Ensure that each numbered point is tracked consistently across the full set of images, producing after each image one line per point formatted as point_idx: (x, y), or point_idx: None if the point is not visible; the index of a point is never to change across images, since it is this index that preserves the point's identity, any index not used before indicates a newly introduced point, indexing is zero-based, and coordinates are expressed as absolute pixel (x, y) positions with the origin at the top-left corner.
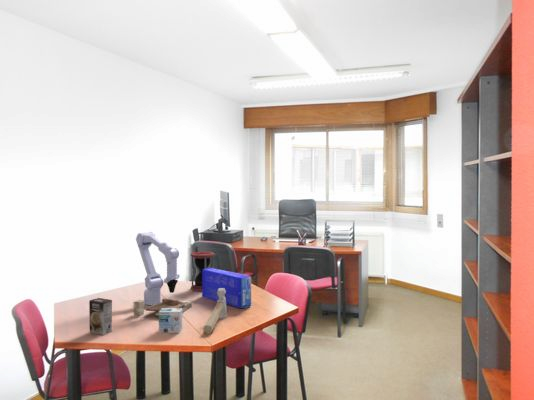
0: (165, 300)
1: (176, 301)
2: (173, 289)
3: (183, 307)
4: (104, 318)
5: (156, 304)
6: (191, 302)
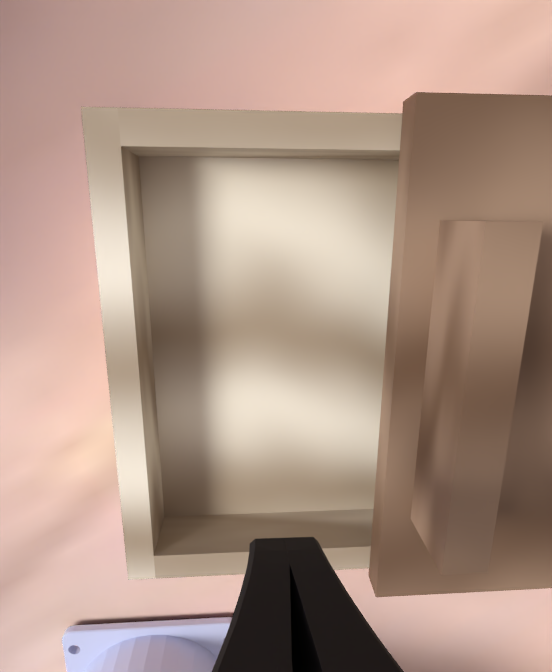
0: (490, 497)
1: (525, 251)
2: (337, 600)
3: None
4: None
5: (512, 564)
6: (85, 108)
